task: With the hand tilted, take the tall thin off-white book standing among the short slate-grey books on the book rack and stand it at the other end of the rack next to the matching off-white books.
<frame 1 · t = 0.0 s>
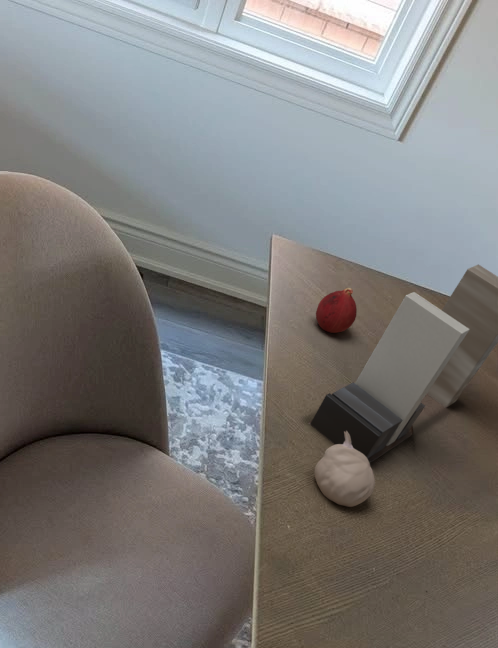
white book: (367, 425, 100), point 1 cm above the table, touching book rack
book rack: (384, 418, 104), on the table
red pomegranate: (325, 333, 116), on the table
garlic bulb: (332, 496, 90), on the table
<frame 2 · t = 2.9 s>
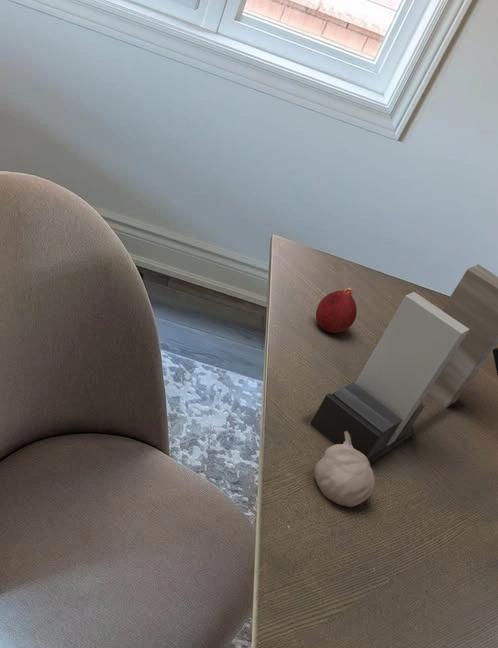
nothing on the table moved.
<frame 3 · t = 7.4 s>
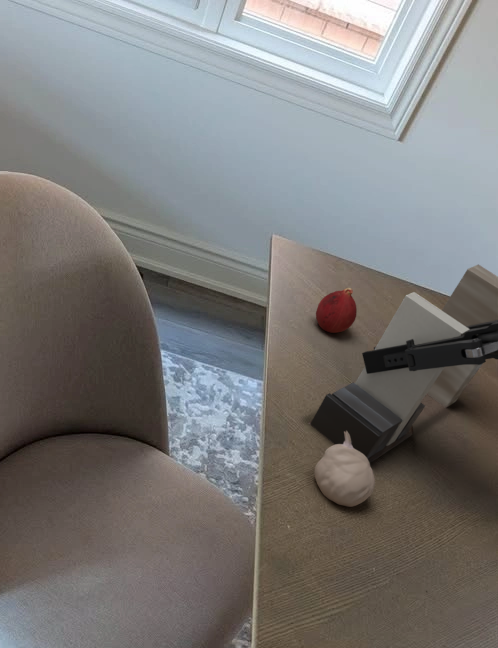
hand: (372, 359, 96), 9 cm above the table, tool tilted 45°, fingers closed on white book, 2 cm apart
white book: (367, 425, 100), point 1 cm above the table, touching book rack, gripper
everything else where it was.
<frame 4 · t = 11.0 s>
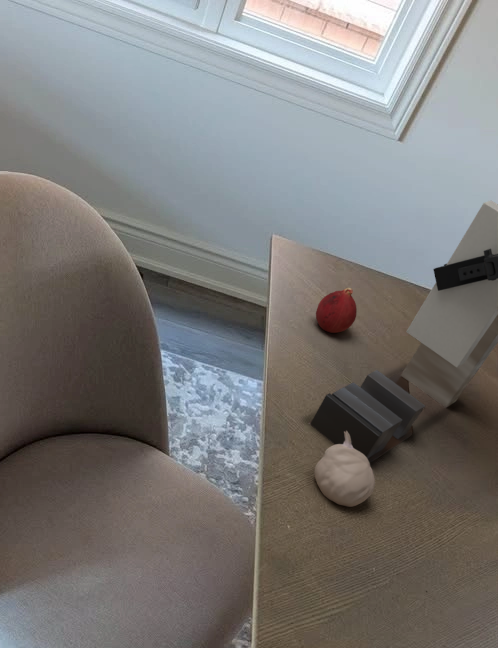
hand: (442, 277, 93), 20 cm above the table, tool tilted 45°, fingers closed on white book, 2 cm apart
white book: (434, 347, 97), point 12 cm above the table, touching gripper
everything else where it was.
when the fingers open (9 cm above the table, at t = 14.6 s): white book stays where it is, resting on book rack.
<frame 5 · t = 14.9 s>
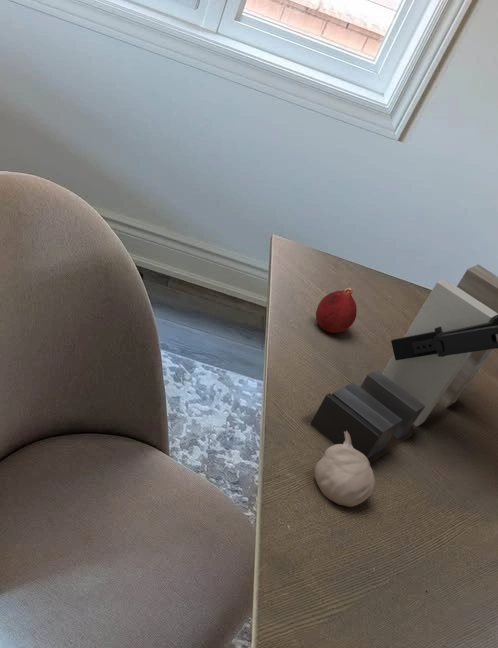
hand: (402, 346, 101), 9 cm above the table, tool tilted 45°, fingers open, 3 cm apart
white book: (396, 407, 104), point 1 cm above the table, touching book rack
everything else where it was.
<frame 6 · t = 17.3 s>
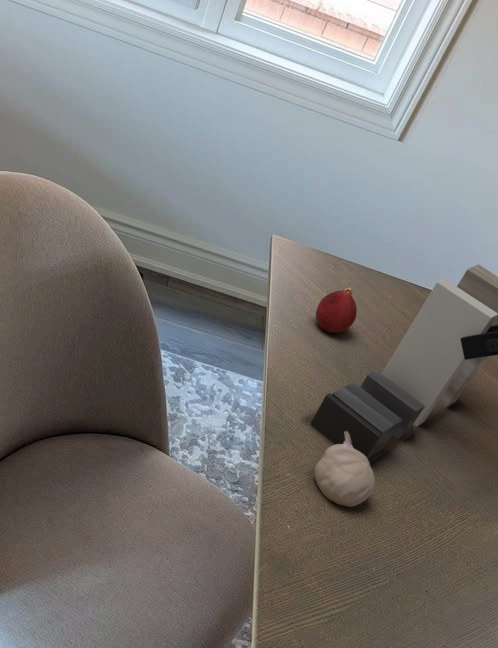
hand: (473, 343, 94), 14 cm above the table, tool tilted 45°, fingers open, 4 cm apart
nothing on the table moved.
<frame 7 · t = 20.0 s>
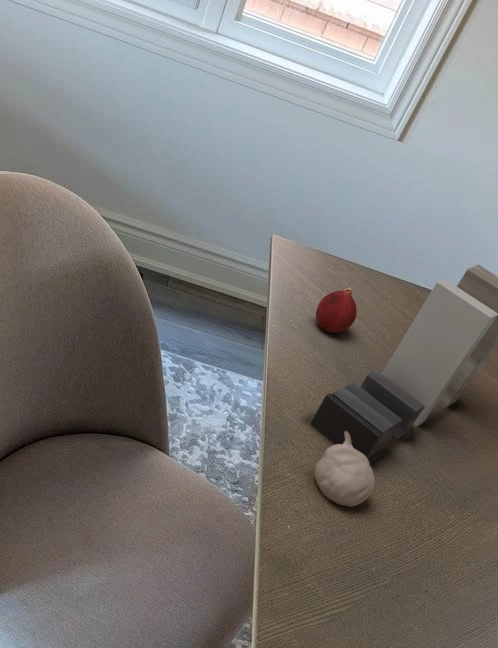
nothing on the table moved.
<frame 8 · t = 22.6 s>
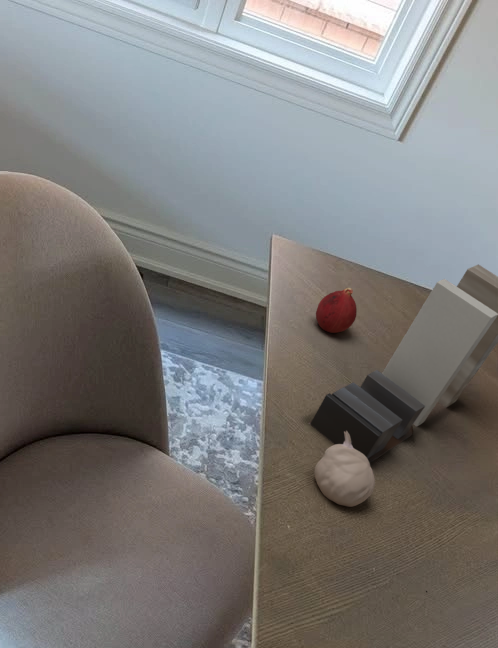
nothing on the table moved.
at the end: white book 0.2 cm from the target spot on the book rack, point 1.0 cm above the book rack's base; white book tilted 0°; the gripper is holding nothing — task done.
